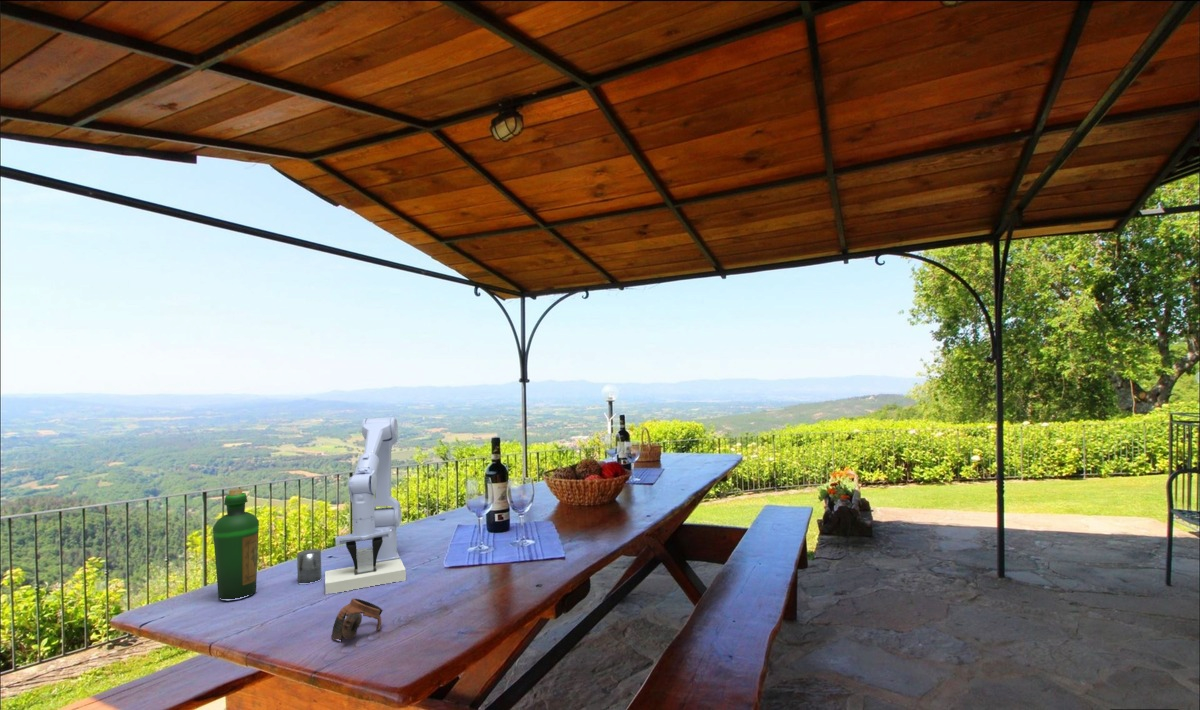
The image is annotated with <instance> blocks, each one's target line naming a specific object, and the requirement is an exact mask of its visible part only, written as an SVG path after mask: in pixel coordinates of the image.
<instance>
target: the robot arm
mask: <svg viewBox="0 0 1200 710" xmlns="http://www.w3.org/2000/svg"><path fill="white" fill-rule="evenodd" d="M398 427H399V426H398V420H397V418H396V417H395V416H391V417H378V418H377V417H376V418H375V417H374V418H364V419H363V420H362V422H361V433H362V434H361V435H362V436H363V439H364V440H365V445H364V450H363V451H364V452H363V453H362V454H360V455H359V456H358V459H357V462H356V467H355V471H354V474H353V475H352V476H350V477H349V479H348V485H347V486H348V495H349V499H350V500H349V501H350V502H351V510H352V511H351V512H352V514H351V516H352V519H351V520H352V533H349V534H344V535H339V536H334V538H335V546H341V545H344V544H345V546H346V549H347V551H348V553H349V554H350V556H351V559H352V563H353V566H354V568H355V570H356V569H357V553H356V549H357V543H359V542H364V541H371V544H372V545H371V547H372V549H373V567H374V566H376V563H377V562H383V561H389V560H395V559H401V558H400V554H399V553H398V540H397V538H398V536H397V528H399V527H400V526H401V523H402V516H403V515H402V510H401V509H402V508H401V502H400V501H399V500H397V499H396V498H395V497H393V496H392V449H393V445H394V444H396V443H397V442H398V439H399V436H398V435H399V429H398Z"/></svg>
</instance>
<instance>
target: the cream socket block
mask: <svg viewBox="0 0 1200 710" xmlns="http://www.w3.org/2000/svg"><path fill="white" fill-rule="evenodd" d="M403 563H404V562H403V561H402V559H401V558H399V559H393V560H387V561H381V562H376V566H374V567H373V572H370V573H364V574H358V575H357V569H356V570H355V568H354V565H353V566H349V567H341V568H336V569H330V570H325V571H324V573H325V574H324V575H325V577H324V580H325V583H324V584H325V586H324V587H325V588H324V589H325V595H326V594H328V593H336V594H338V593H337V592H342V593H345V592H344V591H347V592H350V591H349V590H353V589H358V590H360V589H359V588H363V587H369V588H371V587H370V586H374V587H376V586H375V585H380V584H385V585H387V584H386V583H391V584H393V583H392V582H396V583H400V582H399V581H402V582H406V581H407V573H406V572H407V571H406V570H407V569H406V567H405V566H404V564H403ZM405 580H406V581H405ZM380 586H381V585H380ZM363 589H364V588H363ZM353 591H354V590H353Z"/></svg>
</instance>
